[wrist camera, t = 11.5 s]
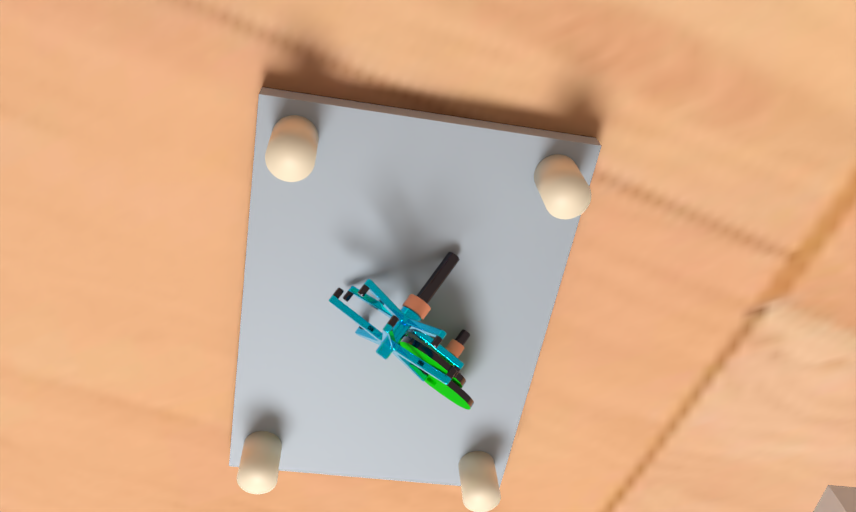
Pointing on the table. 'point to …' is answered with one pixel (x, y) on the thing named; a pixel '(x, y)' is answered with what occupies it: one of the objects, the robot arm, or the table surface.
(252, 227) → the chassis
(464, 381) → the teal multi-armed frame
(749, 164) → the table surface
